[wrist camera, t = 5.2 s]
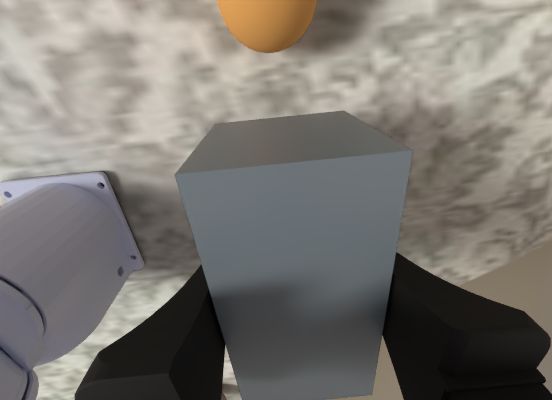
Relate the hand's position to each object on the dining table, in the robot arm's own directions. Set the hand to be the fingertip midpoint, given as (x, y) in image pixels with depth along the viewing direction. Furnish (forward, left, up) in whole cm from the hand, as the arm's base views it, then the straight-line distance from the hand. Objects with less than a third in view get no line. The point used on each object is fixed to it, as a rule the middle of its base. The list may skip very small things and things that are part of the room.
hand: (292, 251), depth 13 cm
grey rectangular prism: (0, 0, -2) cm, 2 cm away
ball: (+12, 0, -6) cm, 13 cm away
